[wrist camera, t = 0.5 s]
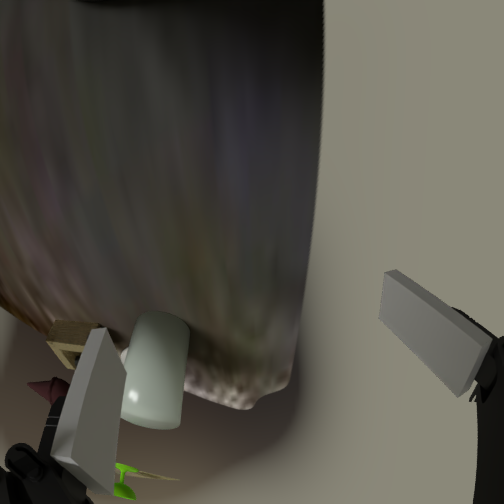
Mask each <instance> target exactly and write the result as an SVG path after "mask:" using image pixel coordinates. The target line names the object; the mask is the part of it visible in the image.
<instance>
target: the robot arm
mask: <svg viewBox="0 0 504 504" xmlns="http://www.w3.org/2000/svg"><path fill="white" fill-rule="evenodd" d="M78 1H85V2H97V1H105V0H78ZM379 319H380V320H381V321H382V322H383V323H384V324H385V325H386V326H387V327H388V328H389V329H390V330H391V331H392V332H393V333H394V334H395V335H396V336H397V337H398V338H399V339H400V340H401V341H402V342H403V343H405V345H406V346H407V347H408V348H410V350H412V351H413V352H414V353H415V354H416V355H417V356H418V357H419V358H420V359H421V361H423V362H424V364H425V365H427V366H428V368H429V369H431V371H432V372H433V373H434V374H435V375H436V376H437V377H438V378H439V379H440V380H441V381H442V382H443V383H444V384H445V385H446V386H447V387H448V388H449V389H450V390H451V391H452V392H453V393H454V394H455V395H456V397H460V396H461V395H462V394H464V393H465V392H467V391H468V390H469V389H470V387H471V385H472V383H473V381H474V380H476V381H477V382H478V384H477V385H476V387H475V389H474V391H473V393H472V395H471V397H470V399H469V402H471V401H472V399H473V398H474V396H475V395H476V399H475V401H474V402H477V419H478V420H477V423H478V449H477V470H476V481H475V491H474V498H473V504H504V336H502V337H500V338H497V337H496V336H495V335H493V334H492V333H491V332H489V331H488V330H487V329H485V328H484V327H483V326H481V325H480V324H479V323H477V322H475V320H473V319H472V318H469V316H468V315H467V314H465V313H464V312H462V311H461V310H458V309H456V308H453V307H450V306H448V305H447V304H445V303H444V302H443V301H441V300H440V299H439V298H437V297H436V296H434V295H433V294H431V293H430V292H429V291H427V290H425V289H424V288H423V287H421V286H420V285H418V284H417V283H416V282H414V281H413V280H411V279H410V278H408V277H407V276H405V275H404V274H402V273H401V272H399V271H398V270H392V271H389V272H385V273H384V282H383V291H382V300H381V308H380V314H379ZM126 376H127V372H126V370H125V368H124V366H123V364H122V362H121V359H120V357H119V355H118V353H117V351H116V349H115V346H114V344H113V342H112V339H111V337H110V335H109V332H108V330H107V327H106V328H98V329H92V330H91V332H90V335H89V337H88V339H87V342H86V344H85V347H84V349H83V352H82V354H81V357H80V360H79V362H78V365H77V368H76V371H75V373H74V376H73V379H72V382H71V385H70V388H69V391H68V394H67V396H59V397H58V398H57V399H56V401H55V402H54V403H53V405H52V406H51V409H50V412H49V415H48V417H49V418H47V421H46V427H45V428H44V431H43V435H42V438H41V442H40V445H39V449H38V452H36V451H35V450H33V448H32V447H30V446H29V445H27V444H25V443H18V444H15V445H13V446H12V447H11V448H10V449H9V450H8V452H7V454H6V456H5V466H6V467H7V468H8V469H9V470H10V472H6V471H5V470H4V469H3V468H1V466H0V504H94V503H93V502H92V501H91V499H90V498H89V497H88V496H87V495H86V489H87V488H89V489H90V490H91V491H92V492H93V493H95V494H104V495H105V494H106V495H114V480H115V479H114V478H115V465H116V453H117V442H118V432H119V424H120V416H121V409H122V402H123V395H124V388H125V382H126Z"/></svg>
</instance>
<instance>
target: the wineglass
mask: <svg viewBox="0 0 504 504" xmlns="http://www.w3.org/2000/svg"><path fill="white" fill-rule="evenodd" d="M115 468H118V469H119V470H120V471H121V478H120V483H114V495H115V496H119V497H123V498H127V499H131V500H136V496H135V493H134V492H133V490H132V489H131V488H130V487H128V486H127V485H125V484H124V475H125V473H126V472H127V471H129V472H138V471H139V470H138V469H136V468H133V467H130V466H127V465H123V464H119V463H116V465H115Z"/></svg>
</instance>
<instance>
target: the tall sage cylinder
mask: <svg viewBox="0 0 504 504" xmlns="http://www.w3.org/2000/svg"><path fill="white" fill-rule="evenodd" d="M189 340H190V330H189V328H188V326H187V325H186V323H185V322H184V321H182V320H181V319H180V318H178V317H176V316H174V315H172V314H169V313H165V312H160V311H151V312H146V313H143V314H142V315H140V316H139V317H138V318H137V320H136V323H135V327H134V330H133V334H132V337H131V340H130V344H129V348H128V351H127V355H126V358H125V362H124V368H125V370H126V372H127V376H126V382H125V388H124V395H123V402H122V409H121V416H120V417H121V418H123V419H125V420H127V421H129V422H131V423H133V424H136V425H139V426H143V427H147V428H154V429H173V428H176V427H178V426H179V425H180V420H181V408H182V399H183V390H184V381H185V372H186V363H187V355H188V347H189Z"/></svg>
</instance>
